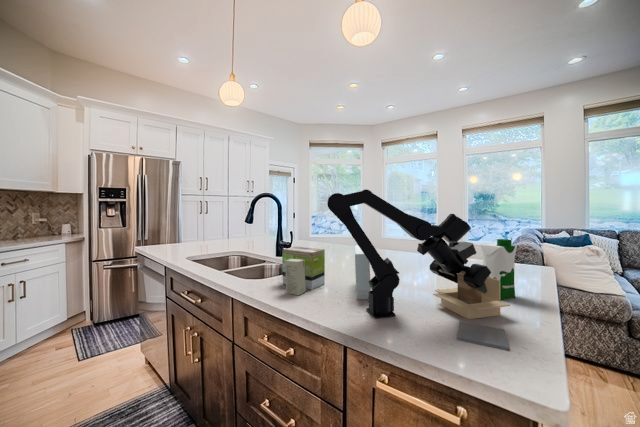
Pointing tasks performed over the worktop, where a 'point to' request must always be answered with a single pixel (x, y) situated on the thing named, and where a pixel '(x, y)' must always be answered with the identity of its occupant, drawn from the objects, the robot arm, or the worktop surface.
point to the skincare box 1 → (295, 276)
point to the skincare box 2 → (362, 274)
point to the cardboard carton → (477, 310)
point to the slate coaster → (482, 335)
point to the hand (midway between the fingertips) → (473, 287)
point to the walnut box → (467, 292)
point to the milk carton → (501, 265)
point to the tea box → (307, 264)
